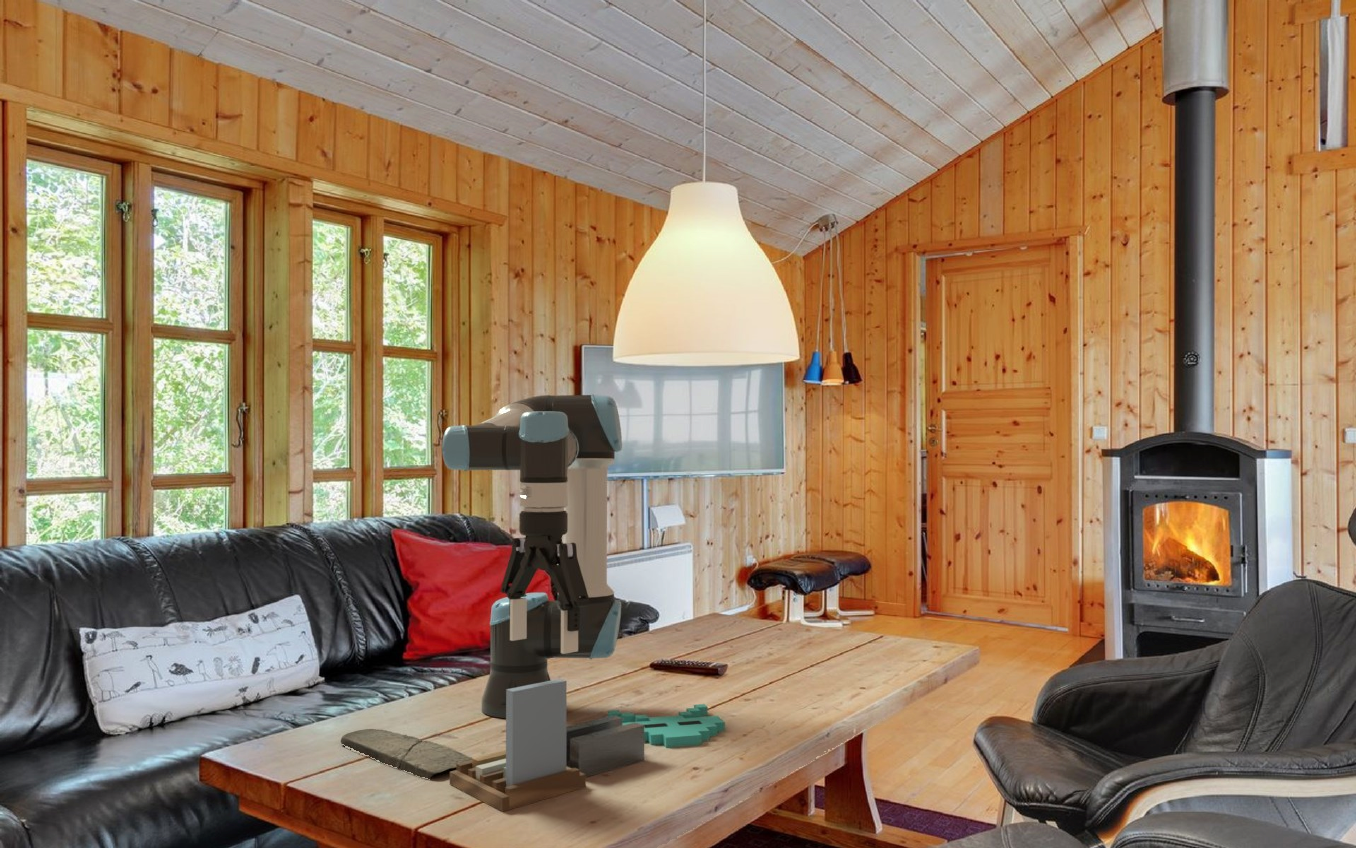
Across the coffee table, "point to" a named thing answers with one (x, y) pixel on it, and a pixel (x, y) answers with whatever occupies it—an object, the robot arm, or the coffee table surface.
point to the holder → (603, 745)
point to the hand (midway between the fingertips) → (543, 646)
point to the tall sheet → (535, 731)
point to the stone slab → (404, 751)
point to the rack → (514, 786)
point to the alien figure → (676, 726)
